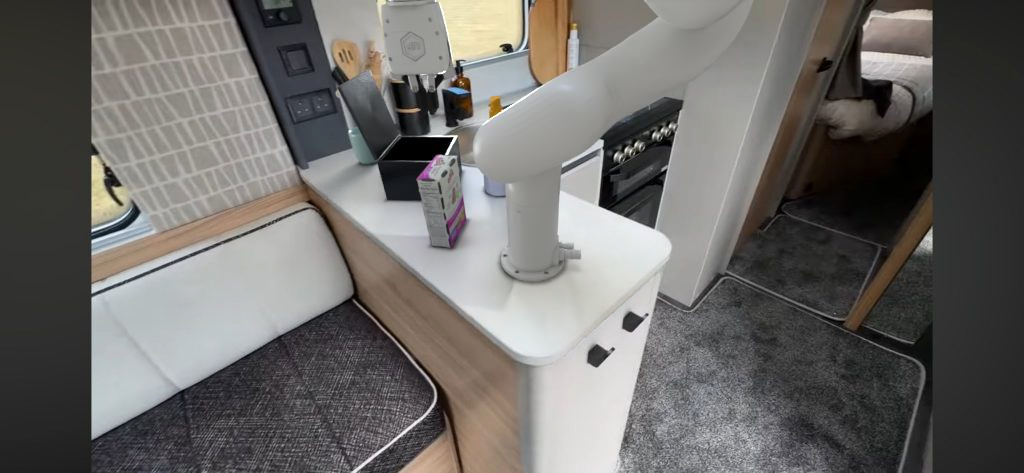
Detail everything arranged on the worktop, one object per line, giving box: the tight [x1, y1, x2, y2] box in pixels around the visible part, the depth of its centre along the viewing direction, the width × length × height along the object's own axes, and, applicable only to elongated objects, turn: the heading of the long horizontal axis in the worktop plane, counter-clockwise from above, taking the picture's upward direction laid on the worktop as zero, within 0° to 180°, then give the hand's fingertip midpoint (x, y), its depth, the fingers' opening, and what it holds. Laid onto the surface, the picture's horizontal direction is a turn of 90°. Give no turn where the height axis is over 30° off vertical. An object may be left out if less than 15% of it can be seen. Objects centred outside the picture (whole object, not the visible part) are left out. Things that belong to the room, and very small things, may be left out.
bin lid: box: [335, 68, 400, 160], centre depth 92 cm, size 17×17×5 cm
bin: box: [376, 135, 463, 202], centre depth 99 cm, size 17×17×11 cm
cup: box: [347, 126, 381, 165], centre depth 113 cm, size 8×8×10 cm
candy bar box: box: [416, 155, 468, 249], centre depth 79 cm, size 11×5×16 cm, turn 168°
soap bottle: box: [482, 95, 506, 197], centre depth 92 cm, size 9×9×24 cm
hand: (429, 112), depth 68 cm, fingers closed
